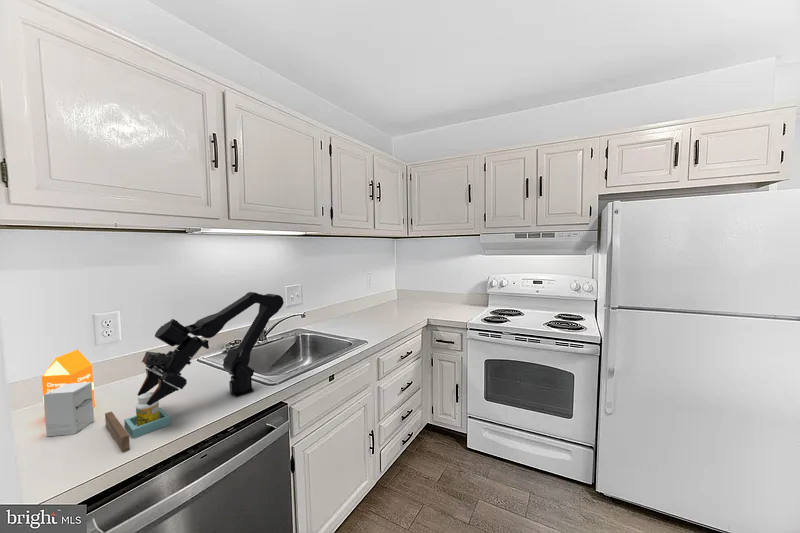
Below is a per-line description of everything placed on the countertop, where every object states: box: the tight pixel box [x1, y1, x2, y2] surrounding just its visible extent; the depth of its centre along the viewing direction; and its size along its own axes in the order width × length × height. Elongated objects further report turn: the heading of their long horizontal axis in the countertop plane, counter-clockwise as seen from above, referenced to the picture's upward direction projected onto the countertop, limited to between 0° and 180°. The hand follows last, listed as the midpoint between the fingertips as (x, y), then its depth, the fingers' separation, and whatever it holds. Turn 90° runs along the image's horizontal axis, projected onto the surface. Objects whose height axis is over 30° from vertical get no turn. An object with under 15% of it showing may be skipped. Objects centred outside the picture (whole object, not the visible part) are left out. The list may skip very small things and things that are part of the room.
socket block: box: [123, 406, 172, 439], centre depth 95 cm, size 9×9×2 cm
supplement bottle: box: [135, 391, 160, 427], centre depth 95 cm, size 5×5×10 cm
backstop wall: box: [104, 411, 131, 453], centre depth 90 cm, size 2×20×4 cm, turn 52°
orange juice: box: [41, 349, 96, 413], centre depth 102 cm, size 8×9×20 cm
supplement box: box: [43, 382, 95, 437], centre depth 94 cm, size 7×7×13 cm
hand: (143, 400), depth 94 cm, fingers open, 9 cm apart
